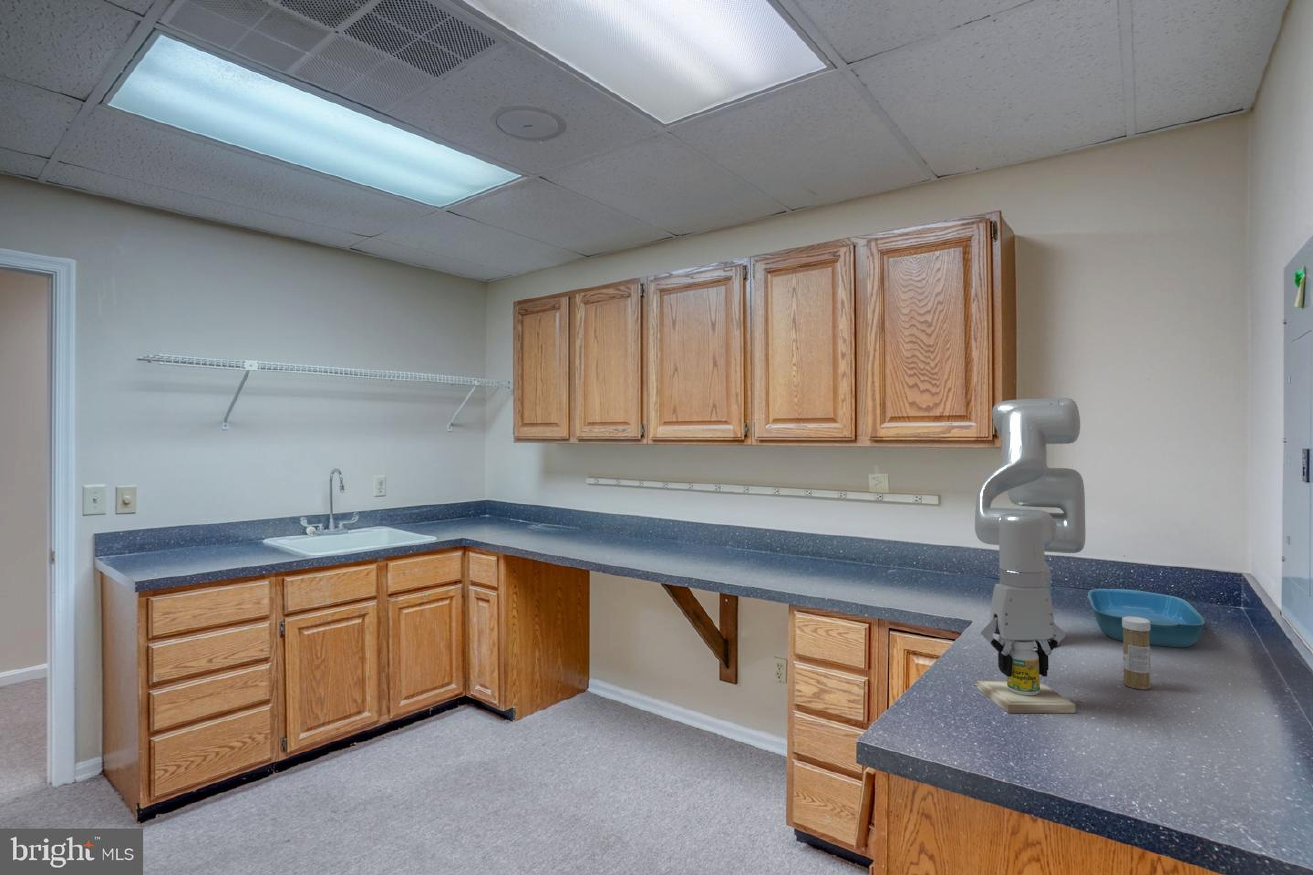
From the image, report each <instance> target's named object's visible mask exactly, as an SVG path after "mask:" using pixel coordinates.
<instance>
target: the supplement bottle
mask: <svg viewBox="0 0 1313 875" xmlns="http://www.w3.org/2000/svg"><path fill="white" fill-rule="evenodd" d="M1034 648H1035V647H1034V641H1013V643H1012V645H1011V648H1010V651H1009V655H1010V656H1011V657H1012V676H1011V677H1008V676H1006V680H1007V687H1008V689H1009V690H1010V691H1012V692H1014V693H1017V694H1021V695H1028V696H1030V695H1037V694H1038V693H1039V692H1040V682H1041V681H1040V674H1039V657H1038V654H1037V653H1036V652H1035V650H1034Z"/></svg>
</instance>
